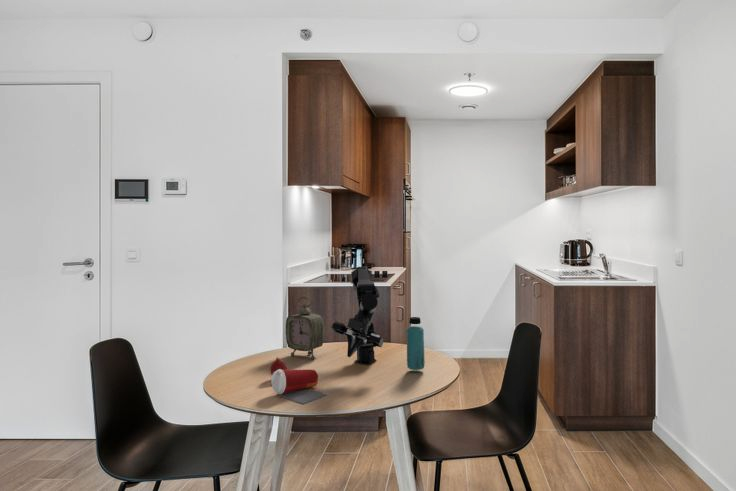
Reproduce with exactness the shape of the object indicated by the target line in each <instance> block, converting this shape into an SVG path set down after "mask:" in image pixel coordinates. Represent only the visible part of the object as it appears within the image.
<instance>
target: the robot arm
mask: <svg viewBox="0 0 736 491" xmlns="http://www.w3.org/2000/svg"><path fill="white" fill-rule="evenodd" d="M372 280H373V279H372V271H371V270H369V267H368V266H357V267H355V269H354V270H352V271H351V273H350V283H351V284H352V289H353V291H355V297H356V300H357V313H356V314H355V315H354V317H350V318H349V319H348V322H347V326H346V325H345V324H344V323H342V322H338V321H336V320H335V321H334V322H333V323H332V325H331V327H330V328H331V329H332V330H333V332H334V333H336V334H340V335H344V336H345V337H346V339H347V354H346V355H347V356H346V357H348V358H351V357H352V356H353V355H354V354H355V353H356V359H355V360H354V363H358V364H361V365H370V364H372V363H375V362H377V359H375V349H374V348H377V347H378V348H382V347H383V344H384V339H383V338H382V336H381V335H379V334H377V332H376V331H375V326H374V323H373V322H372V319H373V317H374V314H375V312H376V309H377V306H378V302H379V300H378V299H379V298H380V292H379V288H377V285H375V282H374V281H372Z"/></svg>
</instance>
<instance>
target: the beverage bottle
mask: <svg viewBox="0 0 736 491" xmlns="http://www.w3.org/2000/svg"><path fill="white" fill-rule="evenodd" d="M421 323H422V321H421V317H419V316H412V317H409V324H410V325H409V326H408V327H407V329H406V363H407V364H406V366H407V368H408V369H409V370H413V371H419V370H423V369H424V368H425V364H426V363H425V362H426V361H425V340H424V339H425V337H424V336H425V334H424V332H425V330H424V328H423V327H422V326H420V324H421Z"/></svg>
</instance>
